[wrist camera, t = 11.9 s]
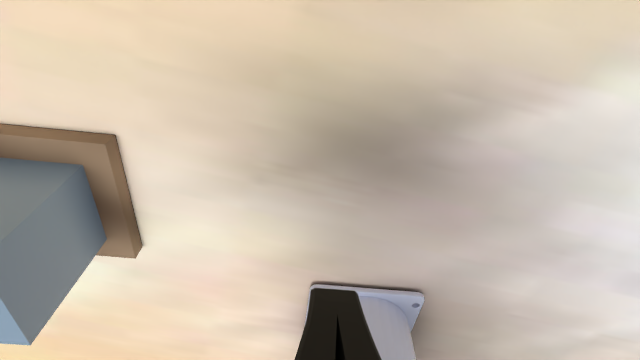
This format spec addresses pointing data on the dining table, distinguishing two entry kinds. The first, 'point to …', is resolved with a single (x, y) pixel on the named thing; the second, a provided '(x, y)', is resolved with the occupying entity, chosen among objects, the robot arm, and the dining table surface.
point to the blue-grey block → (42, 241)
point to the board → (100, 170)
